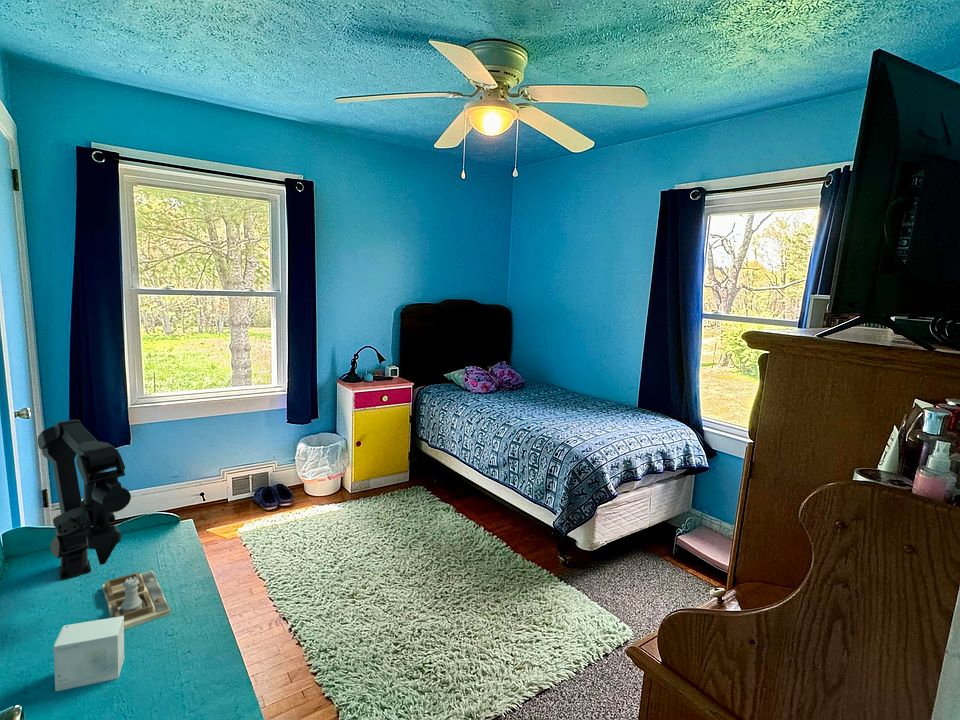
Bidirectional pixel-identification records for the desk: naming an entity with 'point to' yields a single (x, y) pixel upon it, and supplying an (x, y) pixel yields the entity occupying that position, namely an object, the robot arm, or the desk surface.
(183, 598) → the desk surface
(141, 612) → the board
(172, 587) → the desk surface
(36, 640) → the desk surface
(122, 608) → the rook chess piece
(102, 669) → the skincare box
